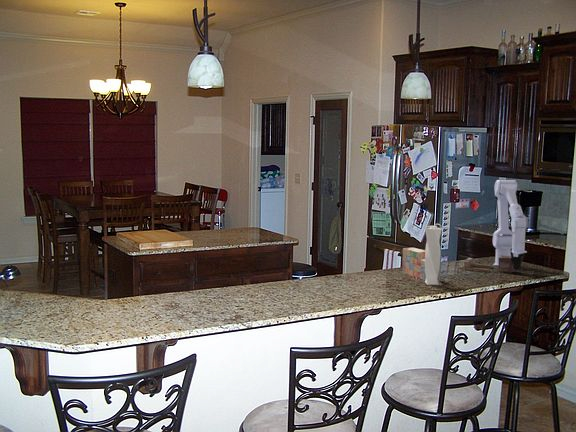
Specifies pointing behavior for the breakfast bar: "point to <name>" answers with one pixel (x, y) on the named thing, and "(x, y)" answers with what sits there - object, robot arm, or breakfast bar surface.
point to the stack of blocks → (414, 262)
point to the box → (506, 264)
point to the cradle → (470, 263)
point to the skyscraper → (432, 255)
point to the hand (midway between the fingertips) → (517, 269)
